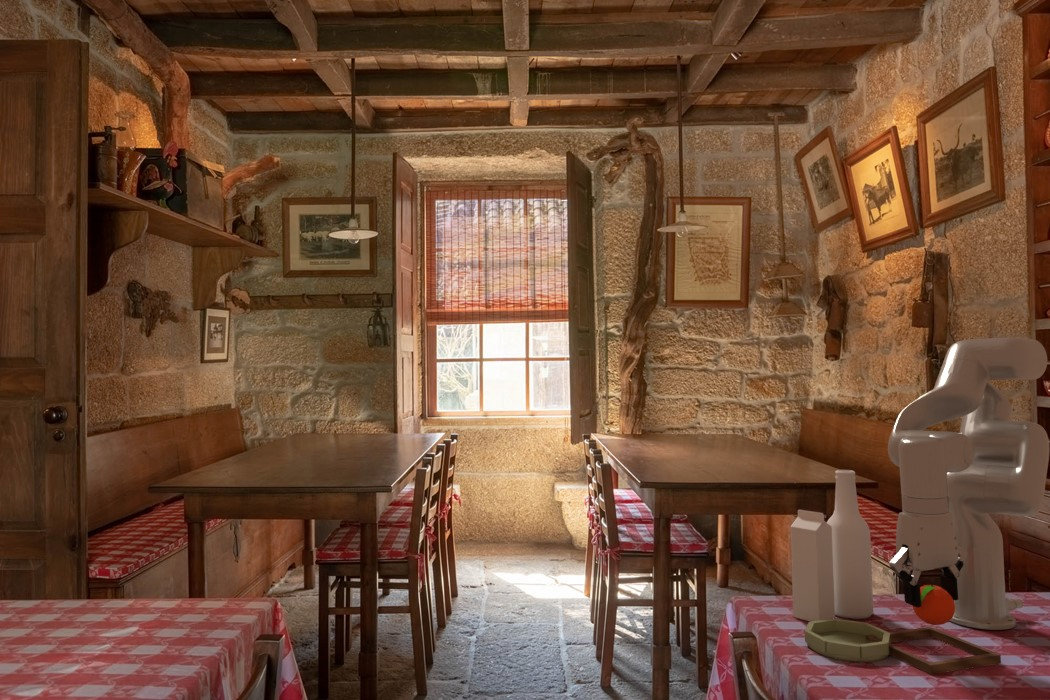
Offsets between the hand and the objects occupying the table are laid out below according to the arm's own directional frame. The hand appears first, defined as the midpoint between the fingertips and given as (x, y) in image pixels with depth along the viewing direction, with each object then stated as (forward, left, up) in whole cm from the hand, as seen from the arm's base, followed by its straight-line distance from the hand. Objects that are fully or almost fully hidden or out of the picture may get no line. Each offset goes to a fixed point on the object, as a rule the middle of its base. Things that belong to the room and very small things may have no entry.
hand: (931, 600), depth 131 cm
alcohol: (-1, -22, -9) cm, 24 cm away
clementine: (0, 0, -4) cm, 4 cm away
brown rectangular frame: (+1, +1, -9) cm, 9 cm away
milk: (+8, -22, -9) cm, 26 cm away
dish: (+13, -6, -9) cm, 17 cm away
